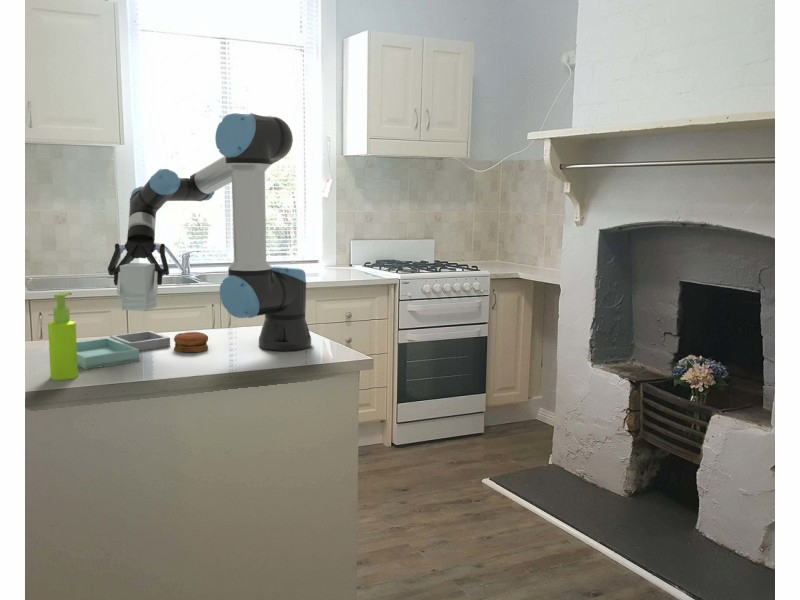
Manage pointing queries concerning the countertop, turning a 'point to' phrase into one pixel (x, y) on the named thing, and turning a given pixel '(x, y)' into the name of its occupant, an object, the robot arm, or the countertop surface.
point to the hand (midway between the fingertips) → (137, 293)
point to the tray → (104, 353)
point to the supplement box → (137, 286)
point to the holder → (143, 340)
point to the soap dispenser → (62, 342)
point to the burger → (191, 342)
